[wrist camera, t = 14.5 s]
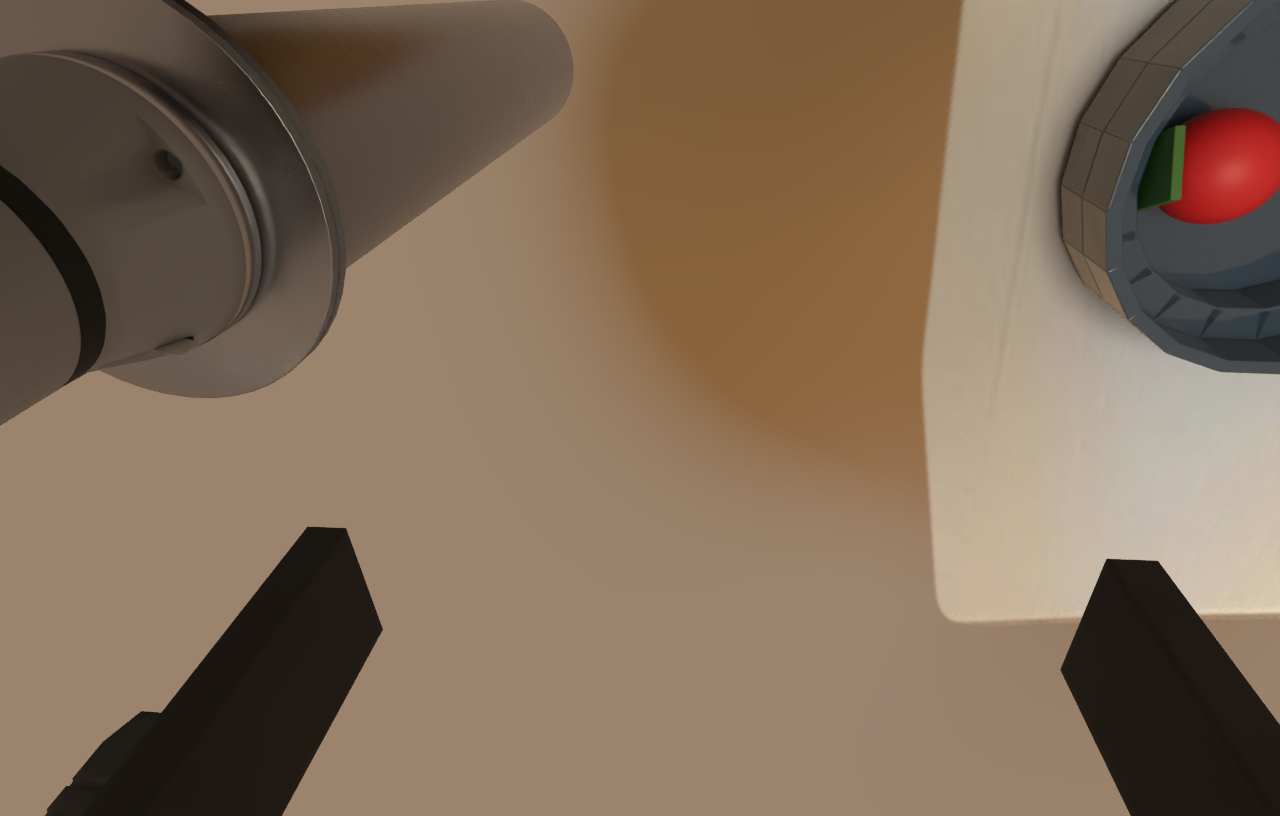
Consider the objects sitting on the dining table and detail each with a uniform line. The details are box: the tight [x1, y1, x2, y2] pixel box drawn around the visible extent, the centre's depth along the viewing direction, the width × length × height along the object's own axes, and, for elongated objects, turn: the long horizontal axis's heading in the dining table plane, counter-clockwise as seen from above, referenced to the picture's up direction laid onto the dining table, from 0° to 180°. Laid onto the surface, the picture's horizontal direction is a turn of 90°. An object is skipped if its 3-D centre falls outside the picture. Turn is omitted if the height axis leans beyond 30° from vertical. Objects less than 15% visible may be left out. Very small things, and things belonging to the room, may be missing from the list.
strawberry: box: [1137, 108, 1280, 225], centre depth 27 cm, size 4×4×5 cm
